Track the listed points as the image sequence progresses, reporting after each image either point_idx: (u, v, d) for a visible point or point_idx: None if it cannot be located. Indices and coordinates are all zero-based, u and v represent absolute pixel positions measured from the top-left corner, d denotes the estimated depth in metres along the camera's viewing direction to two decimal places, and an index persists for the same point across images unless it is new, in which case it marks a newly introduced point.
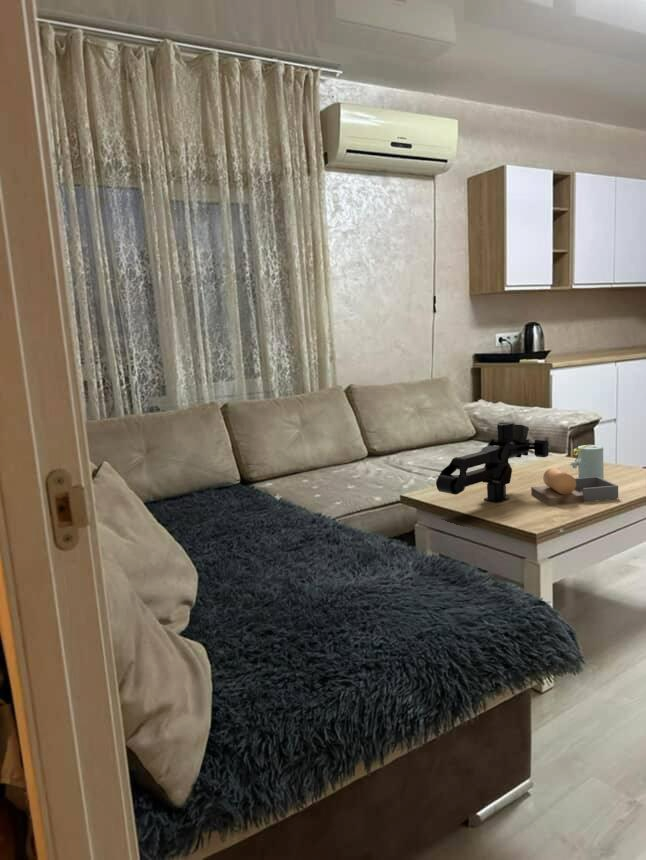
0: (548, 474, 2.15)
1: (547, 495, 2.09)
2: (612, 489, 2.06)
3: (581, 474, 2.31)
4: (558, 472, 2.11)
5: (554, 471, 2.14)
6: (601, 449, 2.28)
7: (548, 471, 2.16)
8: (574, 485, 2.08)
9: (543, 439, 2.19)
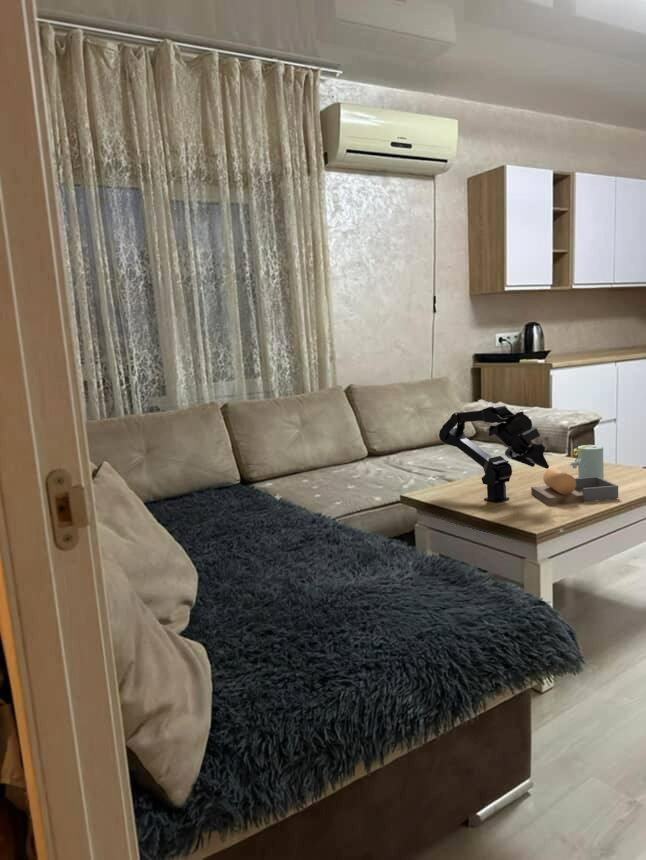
0: (548, 474, 2.15)
1: (547, 495, 2.09)
2: (612, 489, 2.06)
3: (581, 474, 2.31)
4: (558, 472, 2.11)
5: (554, 471, 2.14)
6: (601, 449, 2.28)
7: (548, 471, 2.16)
8: (574, 485, 2.08)
9: None
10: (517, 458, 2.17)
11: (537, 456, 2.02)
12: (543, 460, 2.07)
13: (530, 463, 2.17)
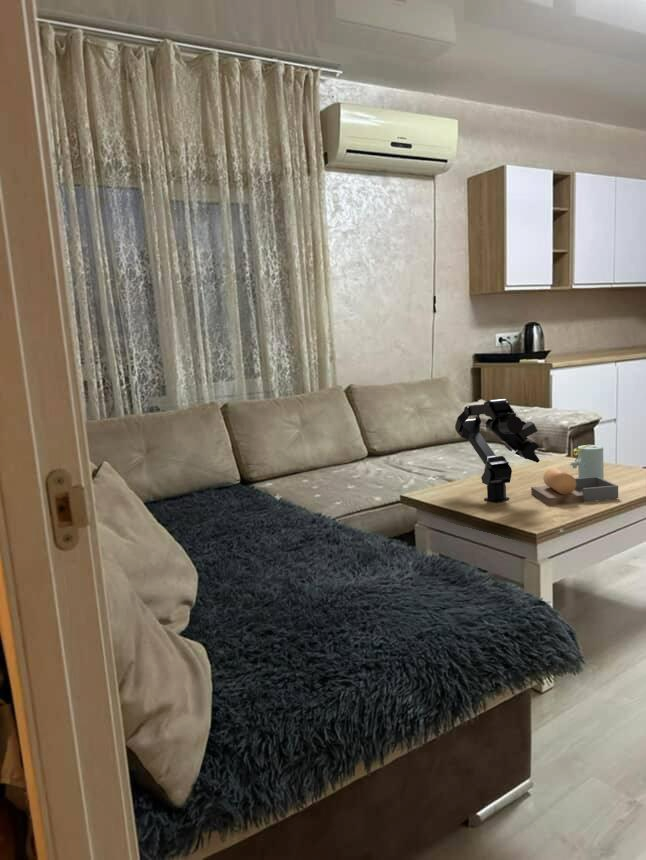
0: (548, 474, 2.15)
1: (547, 495, 2.09)
2: (612, 489, 2.06)
3: (581, 474, 2.31)
4: (558, 472, 2.11)
5: (554, 471, 2.14)
6: (601, 449, 2.28)
7: (548, 471, 2.16)
8: (574, 485, 2.08)
9: None
10: None
11: (529, 454, 2.02)
12: (533, 454, 2.10)
13: None
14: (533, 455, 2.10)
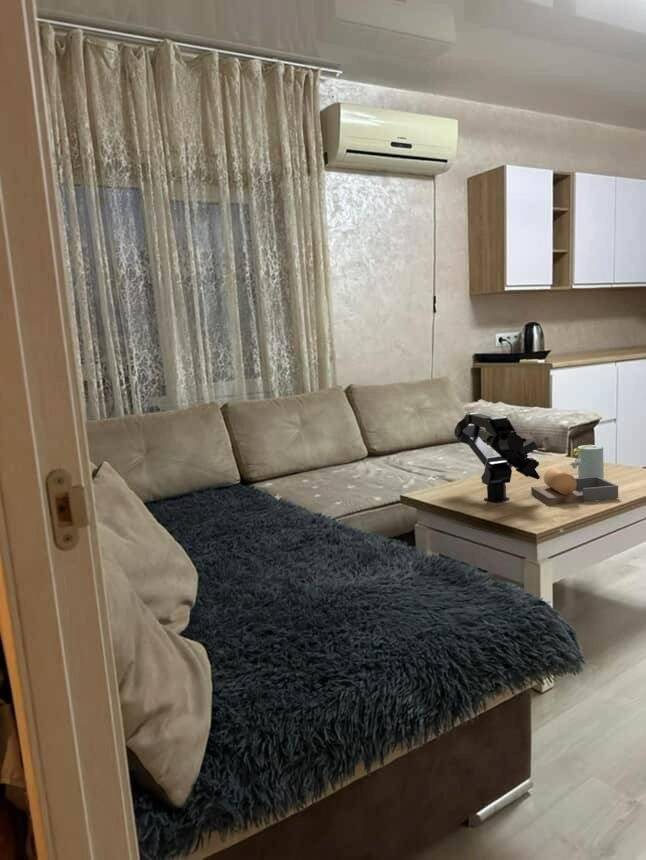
0: (549, 473, 2.15)
1: (547, 495, 2.09)
2: (612, 489, 2.06)
3: (581, 474, 2.31)
4: (559, 472, 2.11)
5: (555, 471, 2.14)
6: (601, 449, 2.28)
7: (549, 471, 2.16)
8: (574, 485, 2.08)
9: None
10: None
11: (530, 472, 2.03)
12: (533, 471, 2.11)
13: None
14: (533, 472, 2.11)
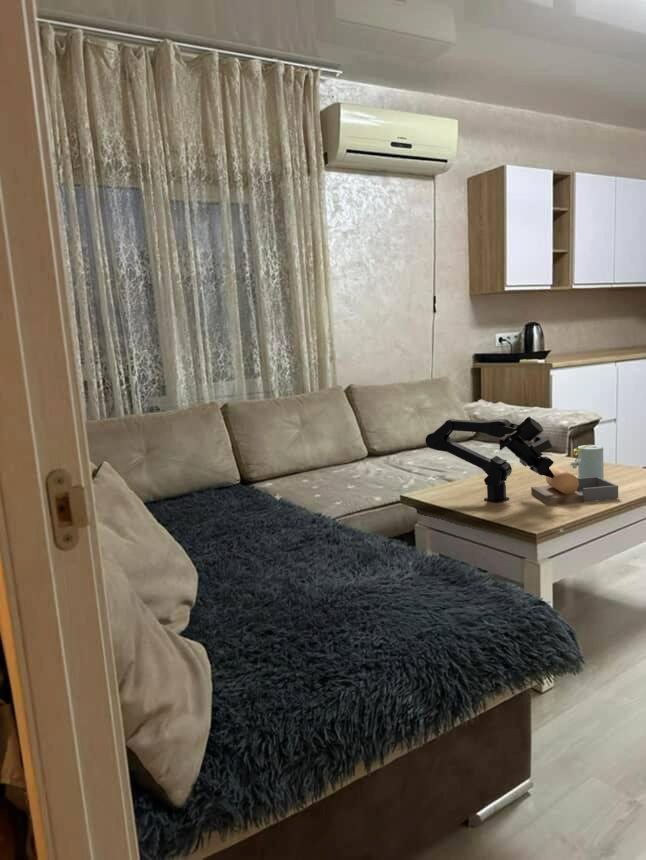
0: (552, 472, 2.15)
1: (547, 495, 2.09)
2: (612, 489, 2.06)
3: (581, 474, 2.31)
4: (563, 471, 2.11)
5: (559, 470, 2.14)
6: (601, 449, 2.28)
7: (553, 469, 2.16)
8: (576, 487, 2.08)
9: None
10: None
11: (544, 470, 2.02)
12: (547, 470, 2.11)
13: None
14: (548, 471, 2.11)
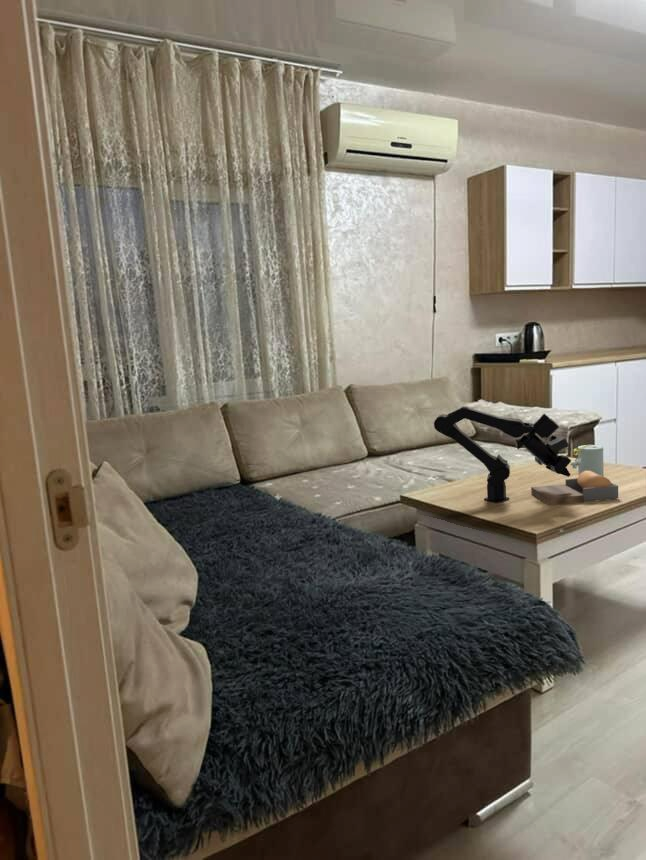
0: None
1: (547, 495, 2.09)
2: (612, 489, 2.06)
3: None
4: None
5: None
6: (601, 449, 2.28)
7: None
8: (596, 480, 2.08)
9: None
10: (551, 467, 2.13)
11: (561, 469, 2.03)
12: (564, 469, 2.11)
13: None
14: (564, 469, 2.11)
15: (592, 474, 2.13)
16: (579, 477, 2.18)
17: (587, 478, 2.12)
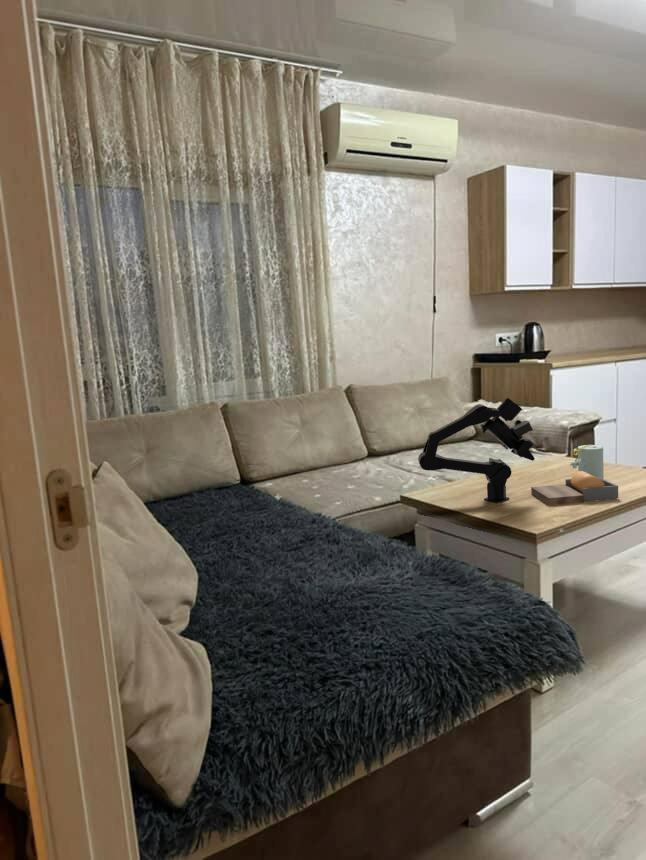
0: None
1: (547, 495, 2.09)
2: (612, 489, 2.06)
3: None
4: None
5: None
6: (601, 449, 2.28)
7: None
8: (586, 486, 2.08)
9: None
10: None
11: (524, 452, 2.05)
12: (528, 453, 2.14)
13: None
14: (528, 453, 2.14)
15: (579, 478, 2.13)
16: (572, 484, 2.18)
17: (578, 484, 2.13)
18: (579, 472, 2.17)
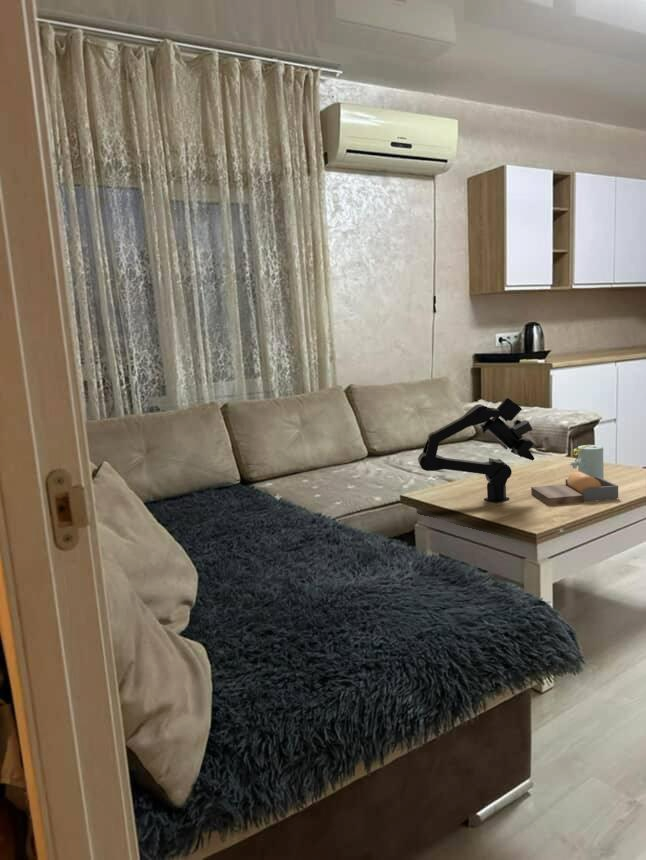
0: None
1: (547, 495, 2.09)
2: (612, 489, 2.06)
3: None
4: None
5: None
6: (601, 449, 2.28)
7: None
8: (582, 489, 2.08)
9: None
10: None
11: (524, 452, 2.06)
12: (528, 452, 2.14)
13: None
14: (528, 453, 2.14)
15: (574, 482, 2.13)
16: (570, 487, 2.18)
17: (575, 488, 2.13)
18: (573, 474, 2.17)
